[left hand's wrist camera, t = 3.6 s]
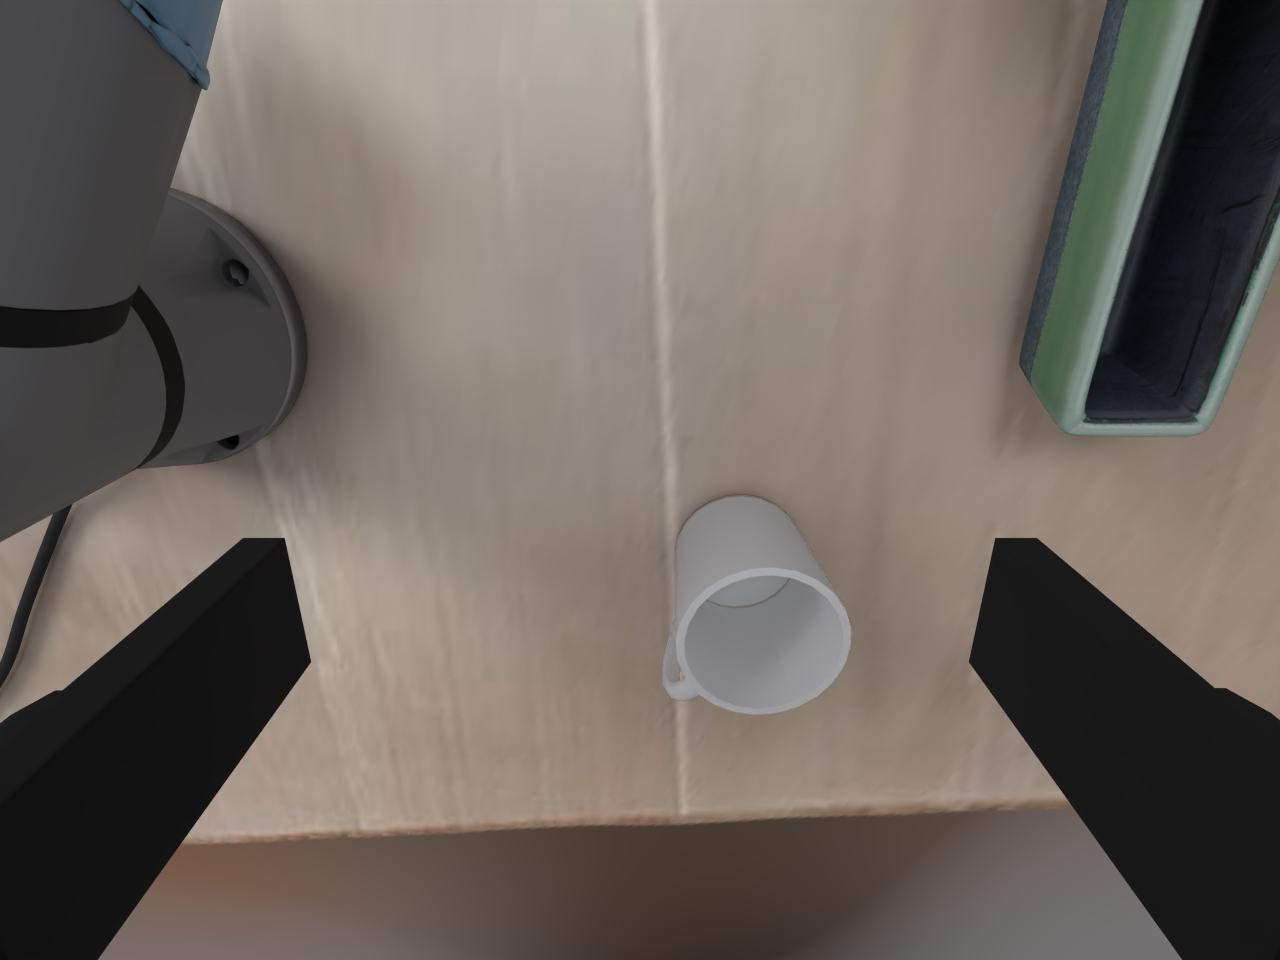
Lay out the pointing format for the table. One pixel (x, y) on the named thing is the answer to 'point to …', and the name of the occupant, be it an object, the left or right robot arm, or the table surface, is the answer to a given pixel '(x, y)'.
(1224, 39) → the planter
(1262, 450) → the table surface
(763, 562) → the mug
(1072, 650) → the left robot arm
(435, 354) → the table surface
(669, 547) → the table surface
